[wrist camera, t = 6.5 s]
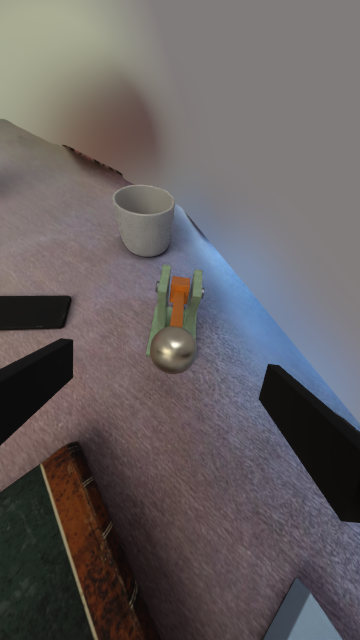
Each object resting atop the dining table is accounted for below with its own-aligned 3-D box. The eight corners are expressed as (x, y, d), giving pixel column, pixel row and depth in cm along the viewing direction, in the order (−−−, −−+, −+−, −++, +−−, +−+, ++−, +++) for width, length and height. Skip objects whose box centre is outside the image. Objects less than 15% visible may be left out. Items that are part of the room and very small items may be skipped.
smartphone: (62, 326, 30) (-41, 330, 28) (64, 329, 31) (-36, 332, 29) (70, 294, 34) (-20, 295, 32) (72, 297, 35) (-17, 298, 32)
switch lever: (193, 387, 13) (203, 352, 11) (144, 381, 13) (145, 344, 11) (191, 299, 25) (195, 274, 23) (165, 295, 25) (168, 270, 23)
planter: (181, 250, 46) (187, 204, 37) (141, 269, 41) (135, 222, 31) (152, 226, 50) (150, 180, 41) (112, 241, 45) (100, 192, 36)
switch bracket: (193, 362, 30) (214, 319, 19) (146, 356, 30) (138, 309, 18) (195, 314, 36) (214, 257, 24) (156, 308, 35) (155, 248, 24)
